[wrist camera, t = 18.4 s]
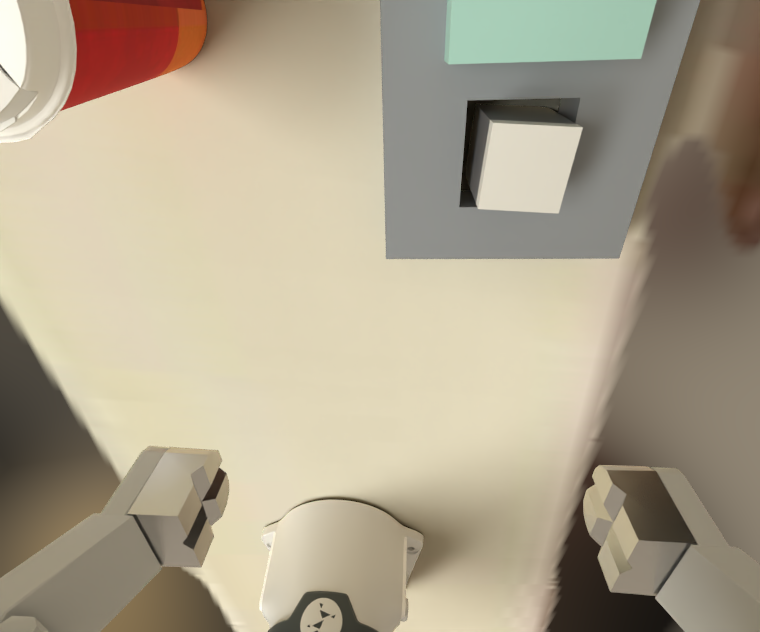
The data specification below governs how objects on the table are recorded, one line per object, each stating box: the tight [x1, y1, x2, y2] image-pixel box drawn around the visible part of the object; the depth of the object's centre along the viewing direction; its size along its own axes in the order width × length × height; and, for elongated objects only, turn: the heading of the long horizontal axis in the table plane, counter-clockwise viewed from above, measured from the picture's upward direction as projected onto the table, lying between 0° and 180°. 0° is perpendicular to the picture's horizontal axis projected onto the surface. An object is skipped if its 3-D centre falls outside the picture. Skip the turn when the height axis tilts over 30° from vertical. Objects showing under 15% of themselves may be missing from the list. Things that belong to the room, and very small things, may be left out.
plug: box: [465, 103, 583, 214], centre depth 23 cm, size 4×4×6 cm
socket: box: [380, 0, 700, 259], centre depth 23 cm, size 15×14×3 cm
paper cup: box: [0, 0, 207, 143], centre depth 17 cm, size 8×8×14 cm
